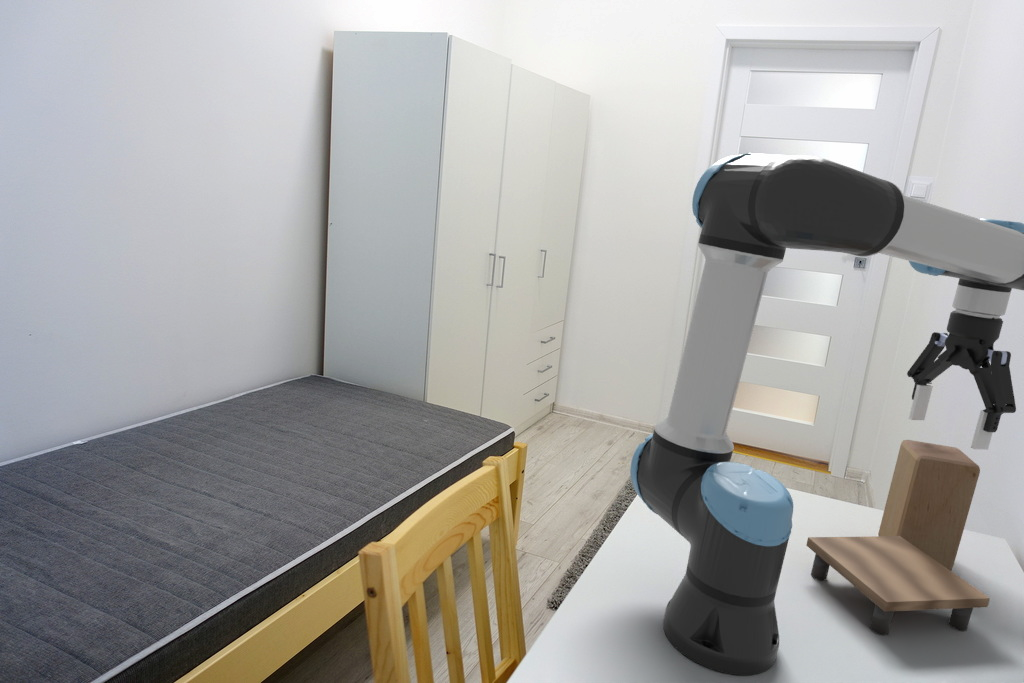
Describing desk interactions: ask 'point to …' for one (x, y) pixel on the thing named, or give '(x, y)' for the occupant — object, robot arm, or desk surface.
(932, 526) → the wooden block
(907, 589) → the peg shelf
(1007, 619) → the desk surface
